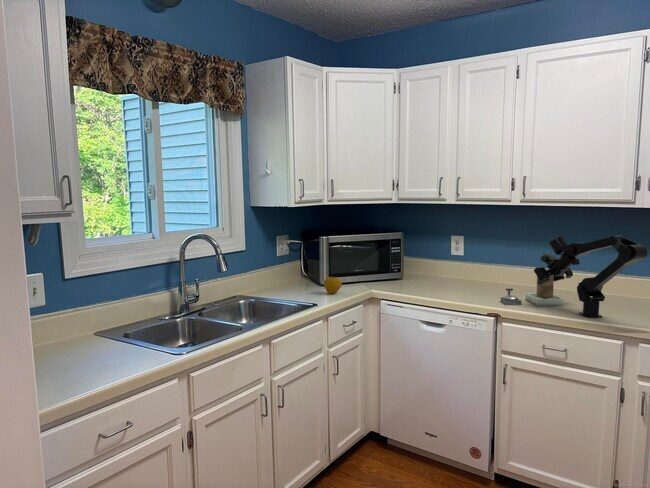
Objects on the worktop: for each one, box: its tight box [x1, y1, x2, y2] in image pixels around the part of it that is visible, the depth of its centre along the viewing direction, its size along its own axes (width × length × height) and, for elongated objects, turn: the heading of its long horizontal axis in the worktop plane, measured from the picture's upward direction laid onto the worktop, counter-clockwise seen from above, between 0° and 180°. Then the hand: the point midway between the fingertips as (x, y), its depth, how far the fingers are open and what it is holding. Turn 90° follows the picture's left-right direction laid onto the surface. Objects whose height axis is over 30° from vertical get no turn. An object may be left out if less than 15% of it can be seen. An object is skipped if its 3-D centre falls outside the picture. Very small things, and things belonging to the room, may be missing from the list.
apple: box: [323, 276, 342, 295], centre depth 242 cm, size 9×9×9 cm
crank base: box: [500, 296, 523, 306], centre depth 222 cm, size 7×7×2 cm
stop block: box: [536, 268, 554, 299], centre depth 222 cm, size 5×5×13 cm
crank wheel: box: [503, 288, 519, 300], centre depth 221 cm, size 6×6×4 cm
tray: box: [525, 292, 565, 307], centre depth 223 cm, size 12×12×3 cm
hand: (542, 282), depth 223 cm, fingers closed on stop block, 5 cm apart
